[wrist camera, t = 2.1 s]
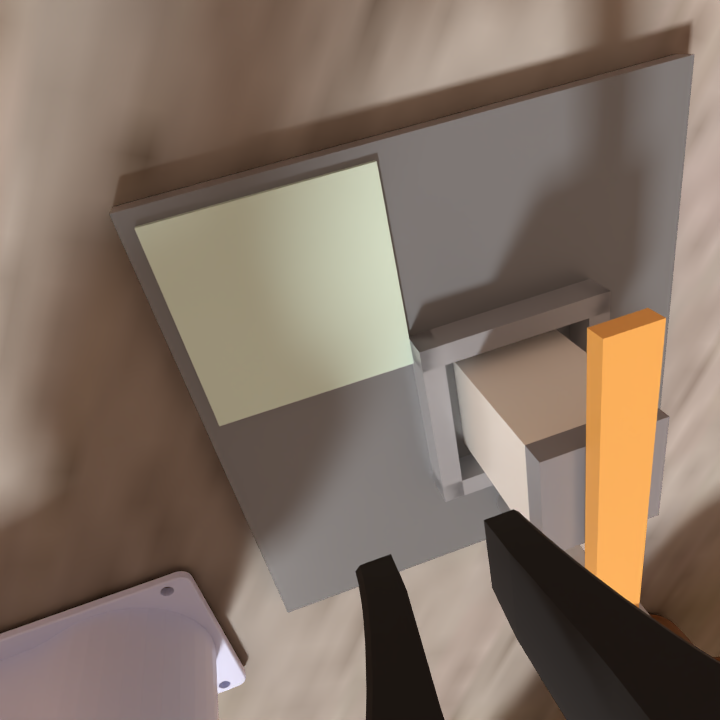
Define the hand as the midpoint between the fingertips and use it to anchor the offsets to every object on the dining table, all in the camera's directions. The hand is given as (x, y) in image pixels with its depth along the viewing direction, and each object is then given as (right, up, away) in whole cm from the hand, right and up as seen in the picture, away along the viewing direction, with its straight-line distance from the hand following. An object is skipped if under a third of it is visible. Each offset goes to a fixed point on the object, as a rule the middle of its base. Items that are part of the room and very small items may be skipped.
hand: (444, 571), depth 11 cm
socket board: (+2, +4, +11) cm, 12 cm away
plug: (+4, +3, +11) cm, 12 cm away
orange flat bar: (+6, 0, +6) cm, 8 cm away
